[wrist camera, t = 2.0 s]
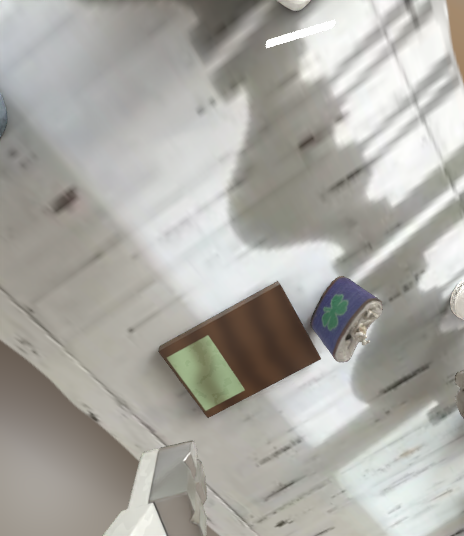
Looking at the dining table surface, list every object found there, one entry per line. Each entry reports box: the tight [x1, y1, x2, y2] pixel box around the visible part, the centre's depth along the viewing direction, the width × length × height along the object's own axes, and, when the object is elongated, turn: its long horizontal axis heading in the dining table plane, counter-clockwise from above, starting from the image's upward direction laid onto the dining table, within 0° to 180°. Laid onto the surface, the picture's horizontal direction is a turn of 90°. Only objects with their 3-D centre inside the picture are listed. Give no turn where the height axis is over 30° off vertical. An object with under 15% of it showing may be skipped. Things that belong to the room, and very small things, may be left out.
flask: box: [311, 276, 383, 362], centre depth 38 cm, size 9×3×11 cm, turn 154°
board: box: [158, 281, 321, 418], centre depth 44 cm, size 20×14×2 cm
